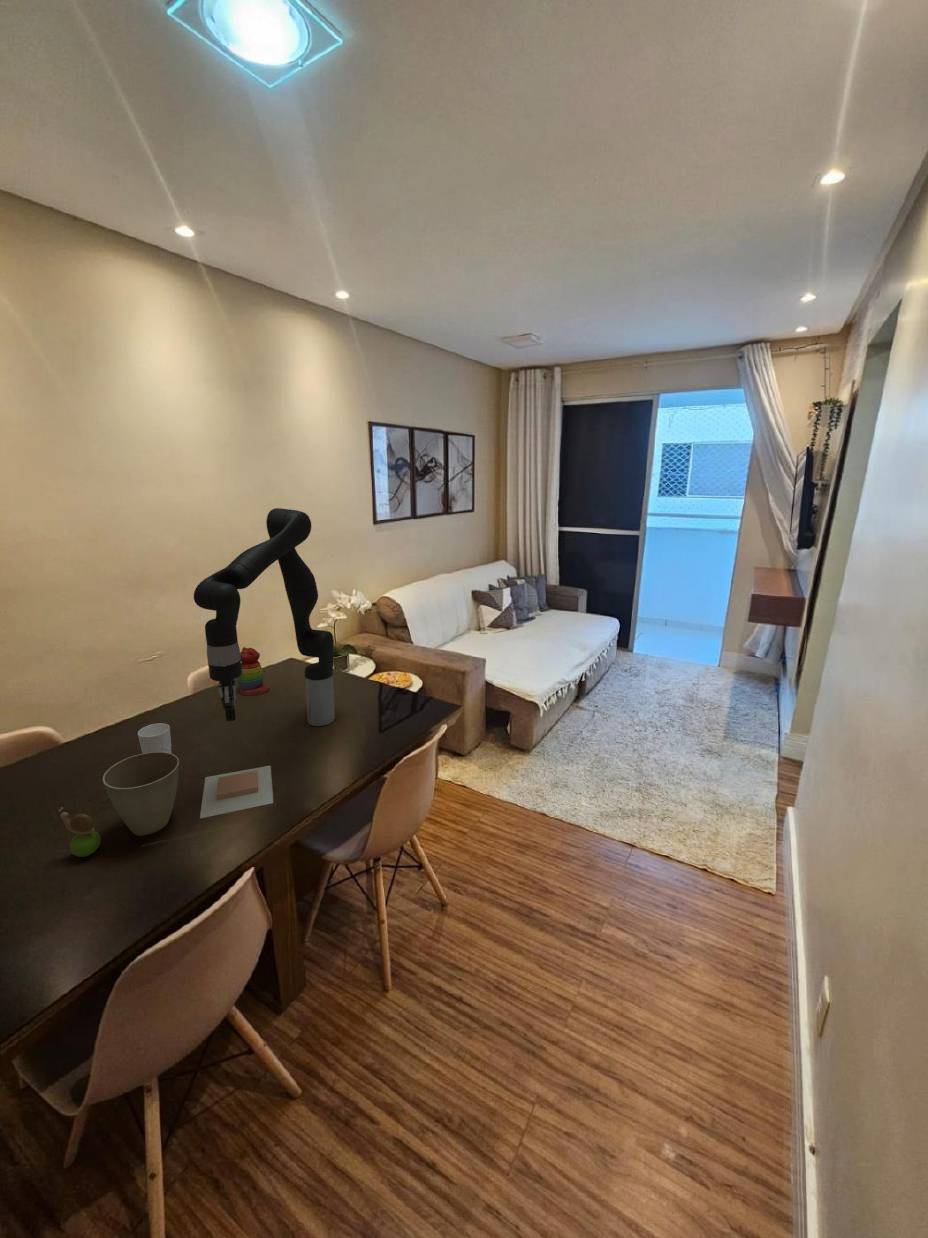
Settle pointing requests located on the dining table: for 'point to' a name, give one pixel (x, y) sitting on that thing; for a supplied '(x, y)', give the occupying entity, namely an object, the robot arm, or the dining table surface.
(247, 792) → the tile
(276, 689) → the dining table surface
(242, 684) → the stacking bear
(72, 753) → the dining table surface
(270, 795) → the mat
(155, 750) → the white cup
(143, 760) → the plant pot
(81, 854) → the snail figurine
